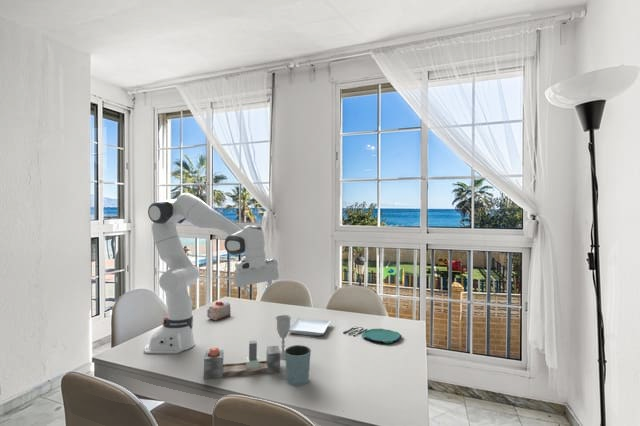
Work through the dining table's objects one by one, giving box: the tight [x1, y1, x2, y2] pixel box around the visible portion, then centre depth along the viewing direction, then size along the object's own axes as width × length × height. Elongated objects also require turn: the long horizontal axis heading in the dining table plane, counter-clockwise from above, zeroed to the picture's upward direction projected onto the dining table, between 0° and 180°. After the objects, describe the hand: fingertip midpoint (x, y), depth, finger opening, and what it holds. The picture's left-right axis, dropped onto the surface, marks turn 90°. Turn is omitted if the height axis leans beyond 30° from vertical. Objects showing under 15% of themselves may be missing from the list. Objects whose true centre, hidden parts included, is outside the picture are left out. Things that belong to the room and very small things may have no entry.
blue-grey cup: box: [284, 344, 312, 386], centre depth 136 cm, size 10×10×12 cm
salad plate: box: [288, 317, 332, 337], centre depth 194 cm, size 21×21×3 cm
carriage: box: [245, 340, 260, 369], centre depth 144 cm, size 5×5×10 cm
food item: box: [206, 301, 232, 321], centre depth 214 cm, size 14×8×10 cm, turn 150°
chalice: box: [275, 314, 292, 360], centre depth 157 cm, size 7×7×18 cm
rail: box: [203, 345, 281, 380], centre depth 143 cm, size 30×8×8 cm, turn 103°
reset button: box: [208, 347, 220, 357], centre depth 140 cm, size 4×4×4 cm
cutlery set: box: [342, 326, 402, 344], centre depth 186 cm, size 20×30×2 cm, turn 53°
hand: (257, 292), depth 153 cm, fingers open, 8 cm apart
